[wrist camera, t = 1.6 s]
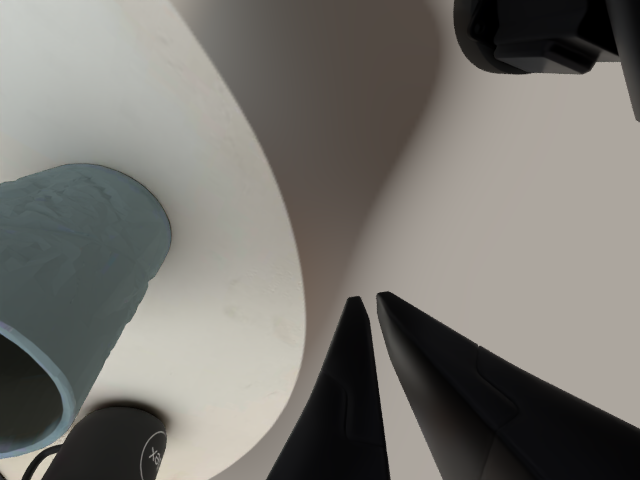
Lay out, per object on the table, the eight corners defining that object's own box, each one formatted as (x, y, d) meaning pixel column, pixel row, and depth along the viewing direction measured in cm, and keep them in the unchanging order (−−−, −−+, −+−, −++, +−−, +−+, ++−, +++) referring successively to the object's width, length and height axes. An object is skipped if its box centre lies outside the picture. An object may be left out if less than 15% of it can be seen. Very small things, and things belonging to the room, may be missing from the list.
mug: (160, 393, 30) (126, 478, 24) (182, 439, 34) (158, 520, 28) (34, 402, 29) (-35, 492, 23) (74, 448, 34) (25, 533, 28)
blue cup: (146, 300, 24) (33, 481, 13) (-4, 236, 20) (-317, 419, 10) (207, 207, 20) (115, 358, 10) (38, 107, 16) (-395, 182, 6)
